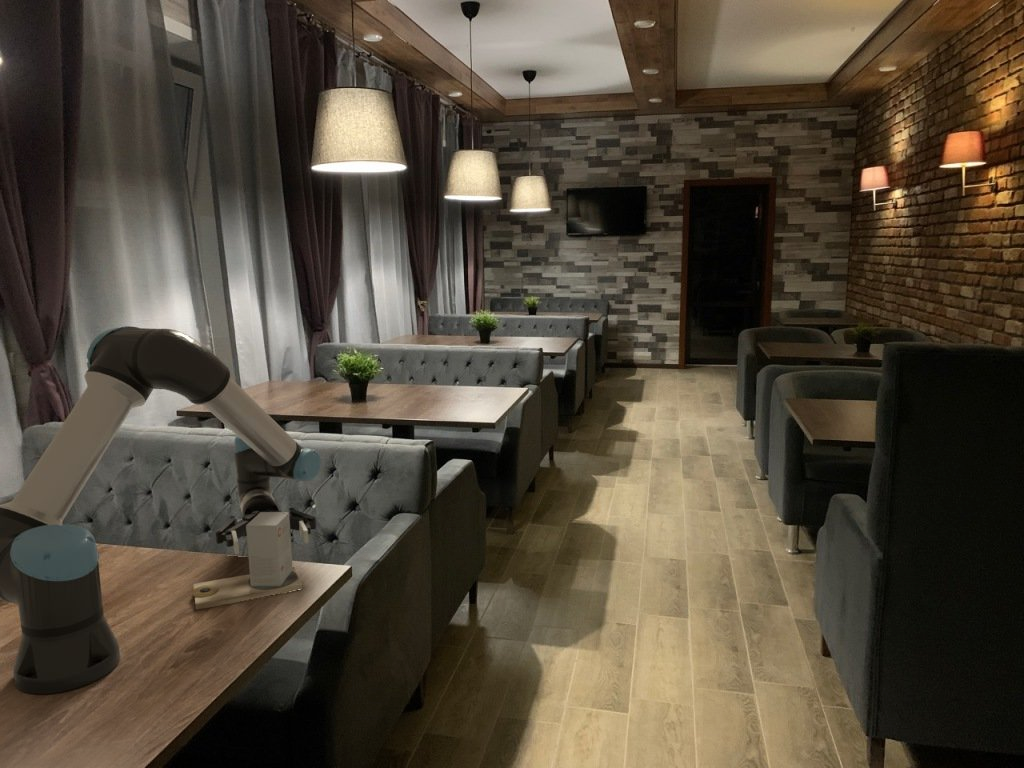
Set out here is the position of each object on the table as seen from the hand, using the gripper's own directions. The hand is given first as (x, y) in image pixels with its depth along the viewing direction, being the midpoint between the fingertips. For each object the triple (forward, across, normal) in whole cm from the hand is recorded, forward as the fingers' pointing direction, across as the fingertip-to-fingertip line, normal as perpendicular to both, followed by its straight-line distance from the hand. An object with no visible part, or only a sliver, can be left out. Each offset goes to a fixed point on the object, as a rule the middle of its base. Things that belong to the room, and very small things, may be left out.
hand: (272, 542), depth 152 cm
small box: (-3, 0, -9) cm, 10 cm away
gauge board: (-3, +5, -10) cm, 12 cm away
